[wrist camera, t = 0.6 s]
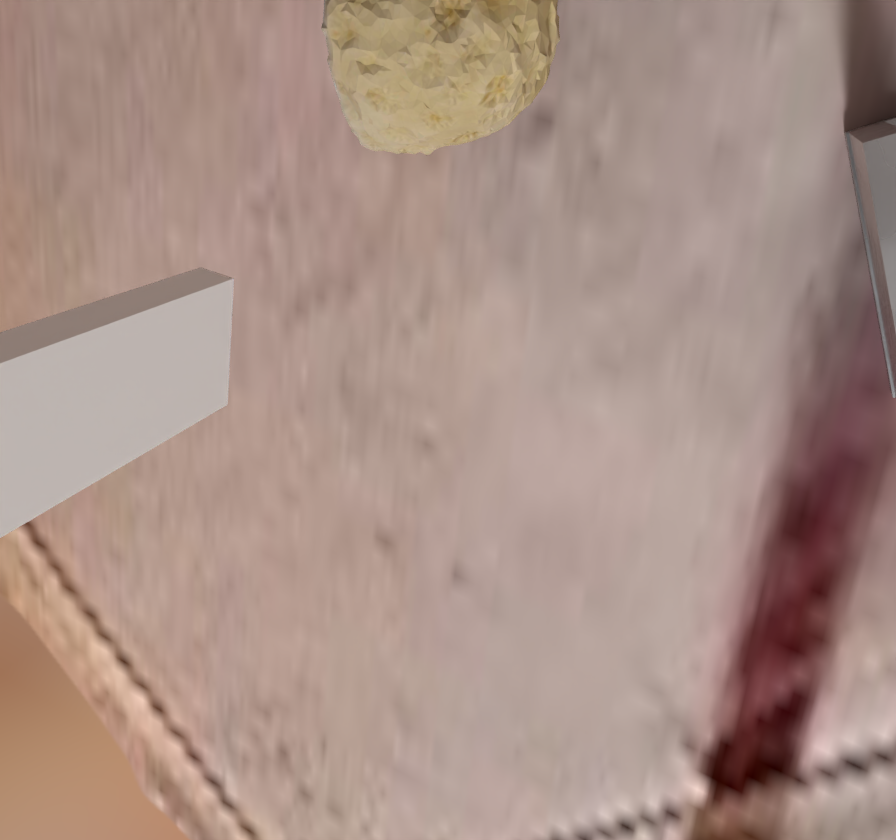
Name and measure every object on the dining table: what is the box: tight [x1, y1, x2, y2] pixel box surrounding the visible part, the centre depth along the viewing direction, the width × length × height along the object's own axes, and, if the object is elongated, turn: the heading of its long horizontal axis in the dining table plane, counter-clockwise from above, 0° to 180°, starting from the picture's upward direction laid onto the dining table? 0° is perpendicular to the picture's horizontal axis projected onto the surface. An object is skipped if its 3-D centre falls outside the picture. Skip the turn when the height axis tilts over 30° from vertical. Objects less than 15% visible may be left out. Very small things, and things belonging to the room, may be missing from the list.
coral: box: [321, 0, 560, 155], centre depth 30 cm, size 10×10×10 cm
